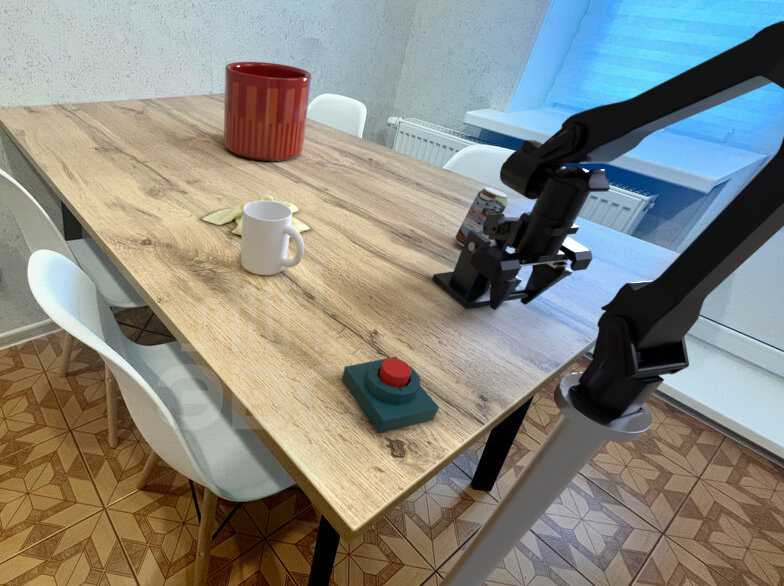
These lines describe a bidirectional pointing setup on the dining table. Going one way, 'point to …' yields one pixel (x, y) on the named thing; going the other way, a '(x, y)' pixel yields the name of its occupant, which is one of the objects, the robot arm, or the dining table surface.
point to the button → (395, 372)
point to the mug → (268, 238)
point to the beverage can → (482, 211)
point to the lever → (516, 293)
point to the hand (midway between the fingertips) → (508, 305)
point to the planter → (265, 110)
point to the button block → (389, 397)
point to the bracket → (468, 275)
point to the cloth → (237, 214)
